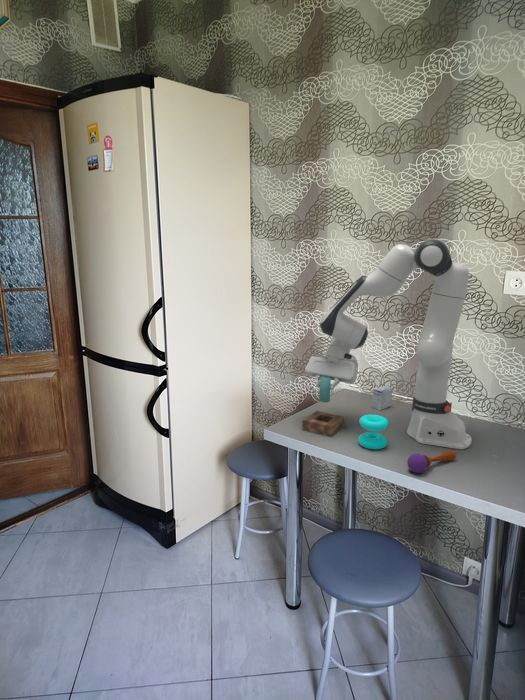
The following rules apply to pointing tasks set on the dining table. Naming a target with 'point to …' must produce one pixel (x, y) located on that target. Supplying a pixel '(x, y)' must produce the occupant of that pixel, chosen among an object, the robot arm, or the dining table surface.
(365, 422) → the donuts
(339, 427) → the brown square frame block
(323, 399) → the teal rounded cylinder
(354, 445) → the dining table surface
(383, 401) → the medicine box
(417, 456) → the kendama
